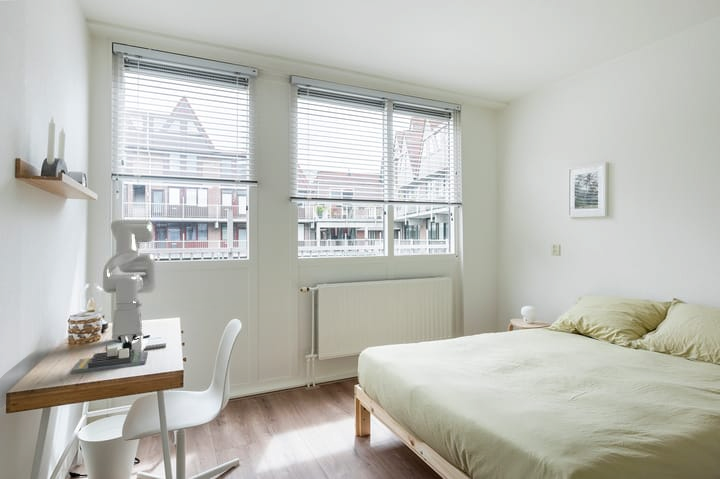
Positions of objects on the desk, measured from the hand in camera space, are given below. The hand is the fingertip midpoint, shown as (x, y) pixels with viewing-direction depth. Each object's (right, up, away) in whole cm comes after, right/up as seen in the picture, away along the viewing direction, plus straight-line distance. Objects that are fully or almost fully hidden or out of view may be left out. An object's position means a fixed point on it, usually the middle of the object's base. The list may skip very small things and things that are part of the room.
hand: (127, 351), depth 160 cm
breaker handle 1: (-3, -2, +4) cm, 6 cm away
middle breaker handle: (-5, -2, -2) cm, 6 cm away
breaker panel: (-5, -4, -2) cm, 6 cm away
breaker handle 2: (+2, -3, -5) cm, 6 cm away
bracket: (-6, -4, +16) cm, 18 cm away
